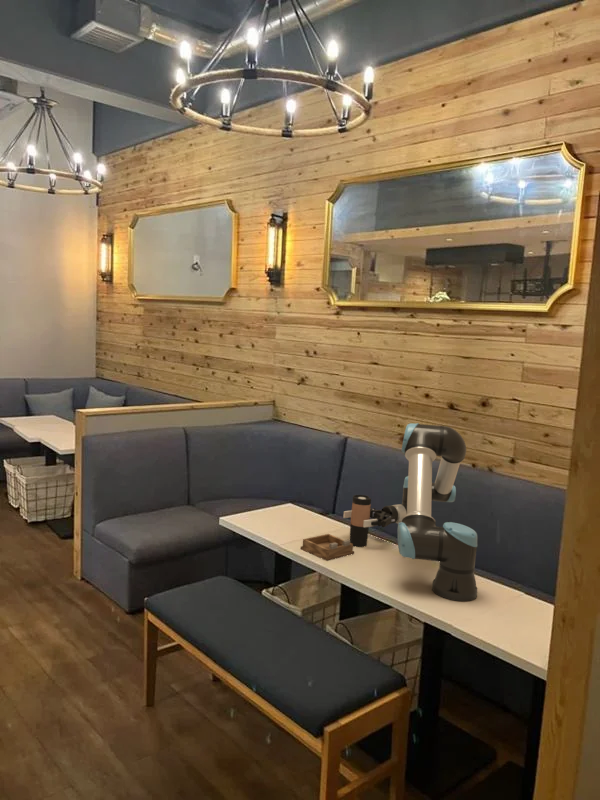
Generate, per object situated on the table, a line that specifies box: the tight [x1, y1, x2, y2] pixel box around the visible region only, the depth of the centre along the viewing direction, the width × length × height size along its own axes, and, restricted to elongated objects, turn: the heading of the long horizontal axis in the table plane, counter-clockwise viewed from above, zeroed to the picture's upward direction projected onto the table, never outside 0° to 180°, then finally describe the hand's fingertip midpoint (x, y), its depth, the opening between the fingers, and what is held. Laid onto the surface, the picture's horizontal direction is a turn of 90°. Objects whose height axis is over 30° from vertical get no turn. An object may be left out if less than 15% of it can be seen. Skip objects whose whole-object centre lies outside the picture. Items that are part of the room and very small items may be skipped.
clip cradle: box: [300, 533, 355, 562], centre depth 247 cm, size 15×15×6 cm
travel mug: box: [349, 494, 372, 548], centre depth 258 cm, size 8×8×20 cm
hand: (353, 519), depth 256 cm, fingers open, 12 cm apart
